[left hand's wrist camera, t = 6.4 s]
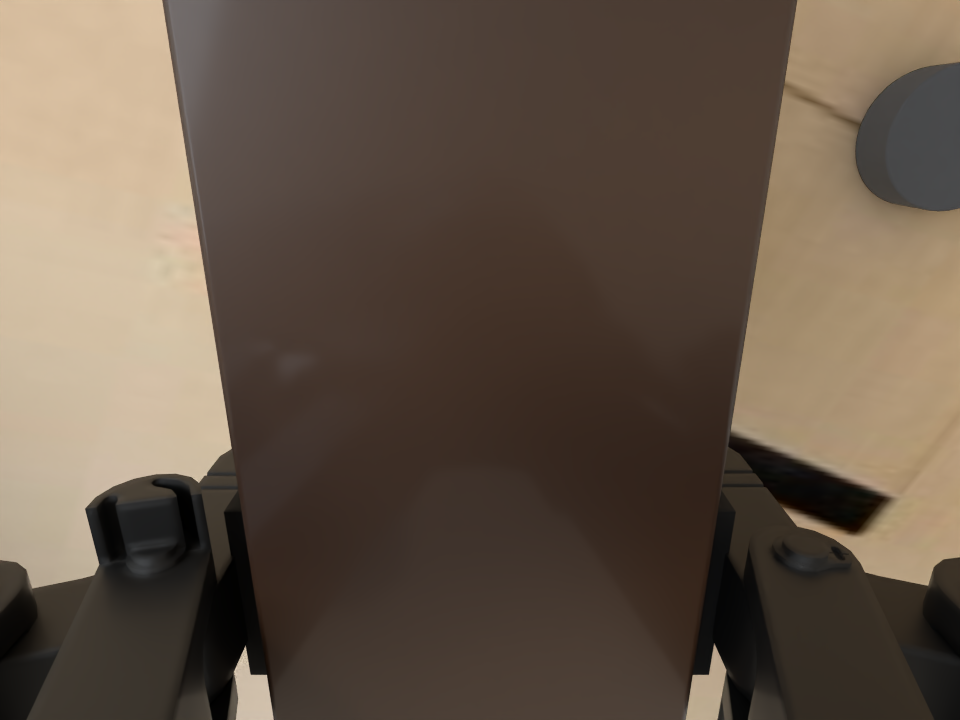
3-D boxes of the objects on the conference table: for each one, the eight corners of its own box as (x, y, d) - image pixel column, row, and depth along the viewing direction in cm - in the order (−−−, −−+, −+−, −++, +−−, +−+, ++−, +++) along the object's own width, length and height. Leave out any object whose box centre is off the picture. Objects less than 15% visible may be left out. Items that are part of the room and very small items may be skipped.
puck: (877, 228, 25) (909, 236, 23) (836, 112, 24) (867, 110, 22) (1004, 163, 24) (1048, 166, 22) (970, 37, 23) (1014, 30, 21)
